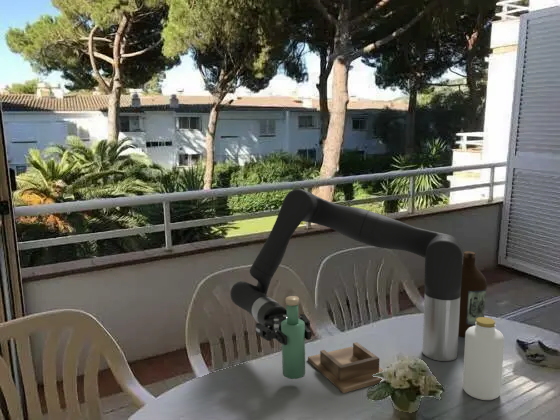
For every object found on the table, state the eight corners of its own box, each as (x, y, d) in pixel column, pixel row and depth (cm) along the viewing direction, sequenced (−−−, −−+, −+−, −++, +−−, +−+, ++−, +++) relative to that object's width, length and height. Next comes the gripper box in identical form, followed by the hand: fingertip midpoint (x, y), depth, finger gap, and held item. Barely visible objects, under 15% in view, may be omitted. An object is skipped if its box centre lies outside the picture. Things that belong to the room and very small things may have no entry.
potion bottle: (504, 404, 107) (509, 329, 104) (465, 400, 108) (469, 326, 105) (495, 384, 115) (500, 314, 112) (459, 381, 116) (463, 312, 113)
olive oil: (439, 328, 148) (443, 250, 143) (464, 322, 152) (469, 246, 148) (465, 341, 138) (469, 259, 134) (491, 334, 142) (497, 254, 138)
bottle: (290, 365, 119) (289, 292, 116) (309, 371, 116) (308, 297, 113) (278, 374, 115) (275, 299, 112) (297, 381, 112) (295, 304, 108)
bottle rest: (307, 360, 128) (307, 344, 127) (351, 349, 134) (351, 334, 133) (343, 393, 112) (343, 375, 111) (391, 379, 118) (391, 362, 117)
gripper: (243, 305, 123) (269, 329, 108) (293, 296, 129) (324, 317, 114) (245, 332, 124) (270, 360, 109) (293, 322, 130) (324, 346, 115)
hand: (297, 338), depth 112 cm, fingers closed on bottle, 5 cm apart
